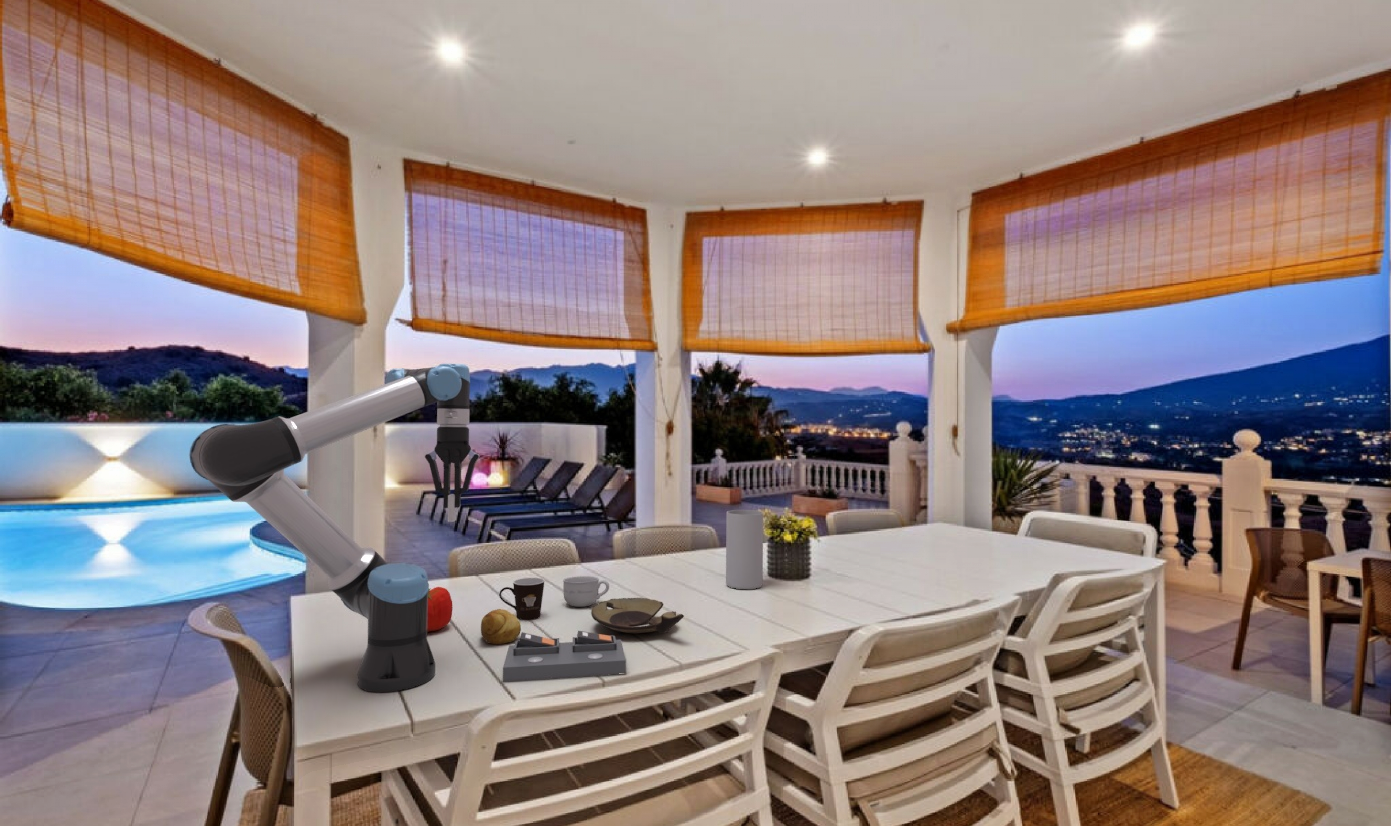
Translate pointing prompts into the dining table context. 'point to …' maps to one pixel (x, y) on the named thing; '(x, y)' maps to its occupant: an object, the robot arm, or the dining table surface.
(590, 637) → the right rocker
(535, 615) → the coffee mug
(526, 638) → the left rocker
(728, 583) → the cylinder vase
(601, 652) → the rocker switch box
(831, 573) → the dining table surface
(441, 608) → the tomato
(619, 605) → the oil lamp
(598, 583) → the teacup
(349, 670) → the dining table surface
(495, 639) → the bread roll
